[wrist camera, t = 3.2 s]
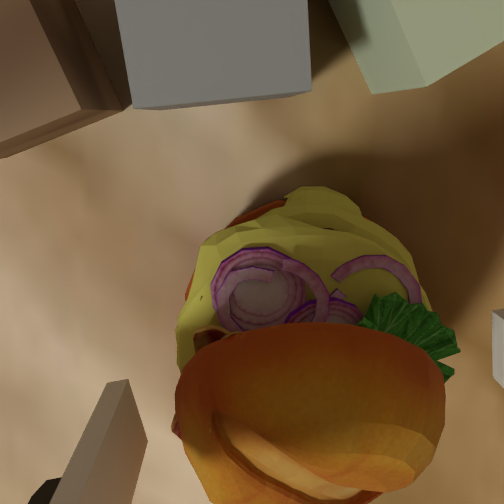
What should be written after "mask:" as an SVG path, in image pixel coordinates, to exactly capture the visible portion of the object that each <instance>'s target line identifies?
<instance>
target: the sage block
mask: <svg viewBox="0 0 504 504" xmlns="http://www.w3.org/2000/svg"><path fill="white" fill-rule="evenodd" d="M328 1H329V3H330V5H331V8H332V10H333V12H334V14H335V16H336V18H337V20H338V23H339V25H340V27H341V29H342V31H343V33H344V36H345V38H346V40H347V42H348V44H349V46H350V48H351V51H352V53H353V55H354V57H355V59H356V61H357V63H358V66H359V68H360V70H361V72H362V74H363V76H364V79H365V81H366V83H367V85H368V87H369V89H370V91H371V94H379V93H386V92H393V91H400V90H407V89H414V88H421V87H427V86H429V85H431V84H432V83H434V82H436V81H437V80H439V79H441V78H442V77H444V76H446V75H447V74H449V73H451V72H452V71H454V70H456V69H457V68H459V67H461V66H462V65H464V64H466V63H467V62H469V61H471V60H472V59H474V58H476V57H477V56H479V55H481V54H483V53H484V52H486V51H488V50H489V49H491V48H493V47H494V46H496V45H498V44H499V43H501V42H503V41H504V0H328Z"/></svg>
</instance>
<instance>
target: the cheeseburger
mask: <svg viewBox="0 0 504 504" xmlns="http://www.w3.org/2000/svg"><path fill="white" fill-rule="evenodd" d="M284 198H286V199H287V200H275V201H273V202H271V203H268V204H266V205H264V206H261V207H259V208H257V209H255V210H252V211H250V212H248V213H246V214H243V215H241V216H239V217H237V218H235V219H234V220H233V221H232V222H231V223H230V224H229V225H228V226H227V227H226V228H225V229H224V230H220V231H218V232H216V233H215V234H213V235H212V236H210V237H209V238H207V239H206V240H205V242H204V243H203V244H202V245H201V246H200V250H199V255H198V259H197V264H196V268H195V270H194V273H193V276H192V278H191V281H190V283H189V286H188V288H187V291H186V293H185V299H186V303H185V304H184V306H183V308H182V310H181V312H180V314H179V316H178V325H177V327H176V329H175V333H176V341H177V365H178V367H179V369H180V372H181V376H180V379H179V381H178V384H177V387H176V391H175V411H176V413H175V415H174V418H173V421H172V424H171V431H172V432H173V433H175V434H176V435H177V436H178V437H179V438H180V439H181V440H182V442H183V446H184V450H185V453H186V455H187V457H188V459H189V461H190V463H191V465H192V466H193V468H194V470H195V472H196V474H197V476H198V478H199V480H200V482H201V483H202V486H203V488H204V490H205V492H206V494H207V496H208V498H209V500H210V501H211V502H212V503H214V504H367V503H369V502H371V501H372V500H374V499H375V498H377V497H378V496H380V495H381V494H382V493H384V492H390V491H394V490H397V489H401V488H404V487H407V486H408V485H410V484H411V483H413V482H414V481H415V480H416V478H417V477H418V476H419V475H420V474H421V473H422V472H423V471H424V469H425V468H426V467H427V466H428V465H429V464H430V463H431V461H432V459H433V456H434V454H435V451H436V448H437V445H438V442H439V439H440V436H441V433H442V431H443V428H444V425H445V398H446V396H445V386H444V383H445V382H446V381H447V380H448V379H449V378H450V377H451V376H452V375H454V369H453V368H451V367H449V366H447V365H445V364H443V363H441V362H438V361H437V360H439V359H442V358H445V357H448V356H451V355H453V354H456V353H459V352H461V351H460V349H459V348H458V347H457V342H456V337H455V332H454V330H452V329H450V328H447V327H445V326H443V325H441V322H440V319H439V315H438V313H437V312H433V311H432V308H431V306H430V303H429V300H428V298H427V295H426V293H425V291H424V290H423V288H422V286H421V285H420V283H419V279H418V276H417V272H416V269H415V266H414V263H413V259H412V256H411V254H410V253H409V252H408V251H407V249H406V248H405V247H404V246H403V245H402V244H401V242H400V241H399V240H398V239H397V238H396V237H395V236H394V235H392V234H391V233H389V232H388V231H387V230H385V229H384V228H382V227H381V226H379V225H378V224H376V223H374V222H372V221H371V220H370V219H369V218H368V217H366V216H363V215H362V214H361V211H360V209H359V207H358V206H357V205H356V204H355V203H354V202H353V201H351V200H350V199H349V198H348V197H347V196H346V195H344V194H341V193H339V192H337V191H334V190H332V189H329V188H327V187H325V186H310V187H299V188H298V189H296V190H294V191H292V192H291V193H289V194H287V195H286V196H284Z"/></svg>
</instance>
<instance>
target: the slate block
mask: <svg viewBox="0 0 504 504" xmlns="http://www.w3.org/2000/svg"><path fill="white" fill-rule="evenodd" d="M114 1H115V7H116V12H117V18H118V24H119V30H120V35H121V41H122V47H123V52H124V58H125V64H126V70H127V75H128V81H129V87H130V92H131V98H132V104H133V109H147V110H168V109H178V108H188V107H198V106H207V105H217V104H227V103H236V102H246V101H256V100H266V99H275V98H285V97H291V96H294V95H298V94H301V93H305V92H308V91H312V80H311V61H310V41H309V21H308V2H307V0H114Z"/></svg>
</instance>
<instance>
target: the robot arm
mask: <svg viewBox="0 0 504 504" xmlns="http://www.w3.org/2000/svg"><path fill="white" fill-rule="evenodd" d="M492 353H493V378H494V379H495V380H496V381H497V382H498V383H499V384H500V385H501V386H502V387H503V388H504V309H499V310H494V311H492ZM147 442H148V440H147V437H146V434H145V430H144V427H143V424H142V421H141V418H140V415H139V412H138V408H137V405H136V402H135V399H134V396H133V393H132V390H131V386H130V383H129V380H128V379H125V380H120V381H114V382H109V383H107V384H106V386H105V388H104V391H103V393H102V395H101V397H100V399H99V401H98V403H97V405H96V407H95V409H94V411H93V414H92V416H91V418H90V420H89V422H88V424H87V426H86V428H85V430H84V432H83V434H82V437H81V439H80V441H79V443H78V445H77V447H76V449H75V451H74V453H73V455H72V457H71V459H70V462H69V464H68V466H67V468H66V470H65V472H64V474H63V476H62V477H61V478H56V479H50V480H46V481H45V483H44V484H43V485H42V486H41V487H40V488H39V489H38V490H37V491H36V492H35V493H34V494H33V496H32V497H31V499H30V501H29V502H28V504H131V503H132V499H133V495H134V491H135V488H136V484H137V480H138V476H139V472H140V469H141V465H142V461H143V457H144V454H145V450H146V446H147Z"/></svg>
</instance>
